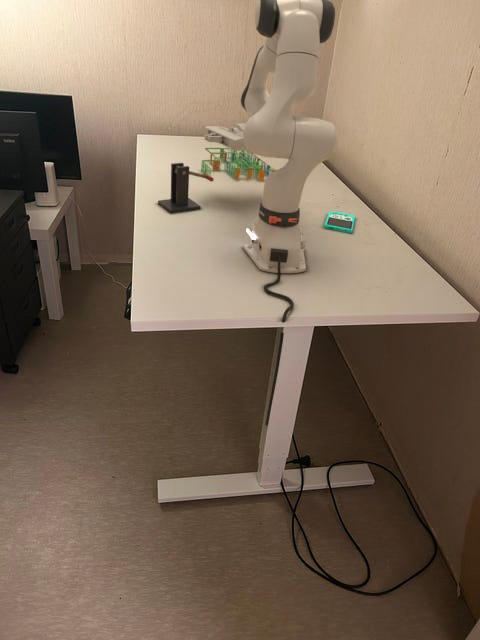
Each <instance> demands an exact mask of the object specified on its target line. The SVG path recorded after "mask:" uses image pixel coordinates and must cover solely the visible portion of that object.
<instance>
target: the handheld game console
mask: <svg viewBox="0 0 480 640" xmlns="http://www.w3.org/2000/svg"><path fill="white" fill-rule="evenodd" d="M355 221H356V215H355V214H350V213H346V212H340V211H329V212H328V214H327V217H326V220H325V222H324V226H323V228H324V229H326V230H331V231H337V232H341V233H346V234H353V229H354V226H355V225H354V224H355Z"/></svg>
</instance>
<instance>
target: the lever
mask: <svg viewBox="0 0 480 640" xmlns="http://www.w3.org/2000/svg"><path fill="white" fill-rule="evenodd" d="M177 167H181V166H177V165H176V168H175V171H174V172H175V173H177ZM209 175H210V174H206V173H205V172H203V173H199V172H194V171H192V170H189V176H194V177H198V178H202V179H206V180H208V181H209V182H214V177H212V175H211V176H209Z"/></svg>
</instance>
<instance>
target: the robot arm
mask: <svg viewBox="0 0 480 640" xmlns="http://www.w3.org/2000/svg"><path fill="white" fill-rule="evenodd" d="M253 16H254V23H255V30H256V31H257V32H258V35H260V36H263V37H265V39H264V44H263V45H262V46H261V47H260V48H259V49H258V51H257V53H256V55H255V58H254V61H253V64H252V66H251V67H252V68H251V71H250V74H249V78H248V81H247V84H246V86H245V88H244V90H243V91H242V94H241V98H240V105H241V106H242V108H243V109H244V110H245V112H246V113H247V114H248V115H249V118H248V120H247V121H246V122H245V123H243V122H242V123H233V124H232V125H231V127H230V128H227V127H225V126H221V125H219V126H218V125H207V126H205V127H204V141H206V142H208V143H217V144H220V145H221V146H223V147H225V148H229V150H231V149H232V150H236V151H237V152H239V151H240V152H241V151H245V152H246V153H248V152H250V154H251V153H253V154H254V155H256V156H260V157H263V158H271V159H272V158H273V159H284V160H288V161H287V162H286V163H285V164H284V165H283V166H282V167H280V168H278V169H275V171H273V172H272V173H271V172H269V175H266V178H264V184H263V191H262V199H261V203H260V204H259V208H258V218H257V219H256V220H255V221H254V222H252V226H251V230H250V229H249V228H246V233H247V235H249V243H246V244H244V246H243V250H244V252H245V253H246V254H247V255H248V256H249V258H250V259H251V260H252V261H253V263H254V264H255V265H256V267H257V269H259V270H260V271H263V272H267V273H271V274H273V273H274V274H277V278H276V280H275V281H273V282H271V283H266V284H264V286H263V289H264V291H265V292H266V293H267V294H268V295H269V294H270V295H272V296H276V297H278V298H282V299H284V300H286V301H288V302H289V304H290V305H289V306H288V307H287V308H286V309H285V310H284V312H283V315H282V317H281V323H286V318H287V315H288V313H289V312H290V310H292V309H293V308H294V306H295V304H294V301H293V299H291V298H290V297H289V296H287V295H285V294H282V293H278V292H275V291H272V290H270V289H269V288H270V287H272V286H276V285H277V284H278V283H279V282H280V281H281V274H298V273H299V274H300V273H304V272H306V270H307V264H306V258H305V251H304V250H305V249H306V247H307V243H306V242H307V241H305V240H301V238H303V236H304V232H301V224H300V218H301V209H300V202H301V199H302V195H303V191H304V188H305V184H306V182H307V179H308V178H309V176H310V175H311V173H312V172H313V171H314V170H315V169H316V168H317V167H318V166H319V165H320V164H321V163H323V162H325V161H326V160H328V159H329V158H331V157H332V155H333V154H334V153H335V151H336V149H337V147H338V142H339V141H338V140H339V137H338V136H339V134H338V131H337V128H336V127H335V125H334V123H333V122H330V121H328V120H324V119H321V118H318V117H310V116H309V117H307V116H297V115H292V113H291V112H292V108H293V107H294V106H296V105H299V104H301V103H304V102H306V101H307V100H309V99H310V98H311V97H313V95H314V94H315V92H316V89H317V82H318V73H319V72H318V71H319V62H320V46H321V45H320V44H324V43H326V42H327V41H328V40H329V39H330V37H331V36H332V33H333V31H334V28H335V24H336V8H335V6H334V4H333V2H332V1H330V0H257V2H256V5H255V8H254V14H253ZM270 73H272V74H274V77H273V85H272V89H271V92H270V94H269V91H268V88H267V85H266V84H267V80H268V78H269V75H270ZM284 335H285V332H280V335H279V345H278V351H277V357H276V362H275V370H274V376H273V379H272V380H273V381H272V387H271V391H270V392H271V393H270V397H269V402H268V407H267V414H266V419H265V424H264V425H265V426H266V427H267V426H269V423H270V416H271V411H272V405H273V401H274V396H275V392H276V391H275V390H276V385H277V380H278V375H279V368H280V363H281V356H282V349H283V343H284Z"/></svg>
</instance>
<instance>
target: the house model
mask: <svg viewBox="0 0 480 640" xmlns="http://www.w3.org/2000/svg"><path fill="white" fill-rule="evenodd" d="M205 150H206V151H207V152H208V153H209V154H210V158H209V159H202V160H201V162H202V165H201V167H200V169H201V172H202V173H206V174H207V175H209V176H211V177H212V172H218V171H222V168H221V164H222V163H224V164H223V166H224V167H223V171H226V173H228V174H229V175H230V176H231V177H232V178H233V179H235V180H238V179H241V177H240V176H241V172H243V174H244V175H245V176H243V179H246V180H247V181H248V180H249V179H252V178H253V177H254V178H255V179H257V180H258V181H261V182H262V181H265V175H266V176H268V175H269V174H270V173H272V172H273V171H276V168H274V167H273V166H271V165H270V164H269V163H268V162H266V161H264V160H263V159H262V158H260V157H259V156H258V155H256V154H253V153H250V152H246V151H236V150H232V149H230V148H228V147H205ZM210 150H220V151H219V152H211V151H210ZM225 150H230V151H225ZM216 155H219V158H218V157H217V156H216ZM229 158H230V159H229ZM237 160H238V161H237ZM206 162H207V163H206ZM208 163H210V165H212V171H209V170H210V169H211V166H209V165H208ZM246 172H247V174H246Z"/></svg>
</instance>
